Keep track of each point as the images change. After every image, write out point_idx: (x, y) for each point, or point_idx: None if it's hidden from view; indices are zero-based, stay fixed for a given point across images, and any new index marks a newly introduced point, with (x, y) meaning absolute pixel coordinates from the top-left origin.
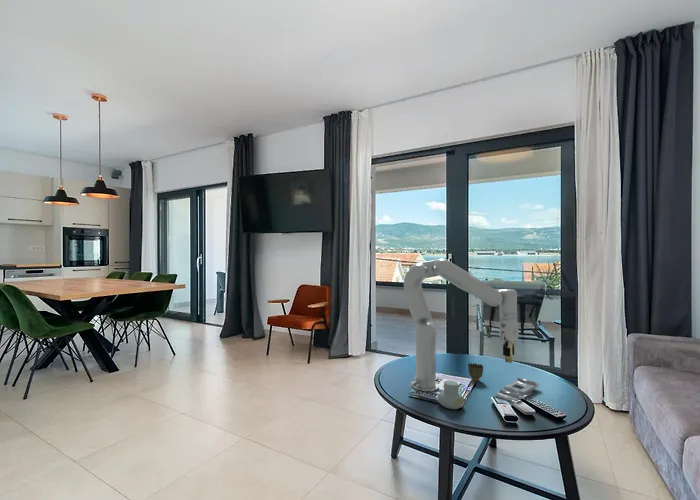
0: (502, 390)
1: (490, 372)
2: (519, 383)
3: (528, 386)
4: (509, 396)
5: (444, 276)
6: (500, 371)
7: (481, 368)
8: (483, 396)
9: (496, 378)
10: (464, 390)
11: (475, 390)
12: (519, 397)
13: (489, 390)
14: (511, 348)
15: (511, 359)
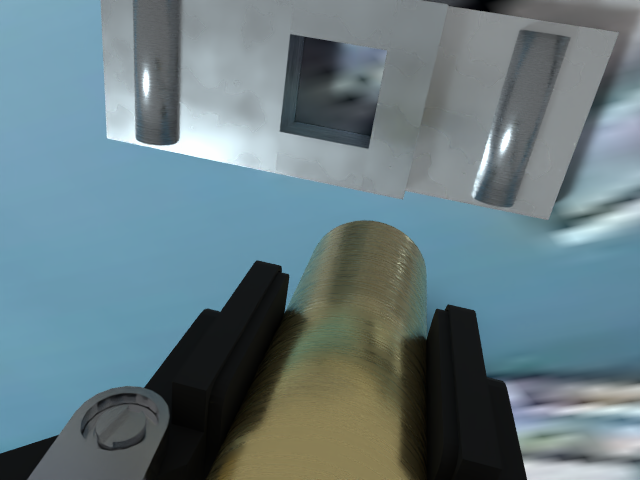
0: (504, 189)
1: (81, 343)
2: (236, 105)
3: (252, 13)
4: (560, 110)
5: None
6: (8, 296)
7: None
8: (597, 288)
9: (156, 290)
10: (551, 412)
11: (501, 356)
12: (529, 26)
13: (434, 279)
14: (366, 405)
15: (393, 252)
